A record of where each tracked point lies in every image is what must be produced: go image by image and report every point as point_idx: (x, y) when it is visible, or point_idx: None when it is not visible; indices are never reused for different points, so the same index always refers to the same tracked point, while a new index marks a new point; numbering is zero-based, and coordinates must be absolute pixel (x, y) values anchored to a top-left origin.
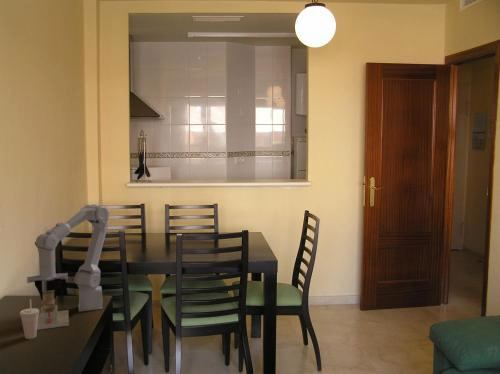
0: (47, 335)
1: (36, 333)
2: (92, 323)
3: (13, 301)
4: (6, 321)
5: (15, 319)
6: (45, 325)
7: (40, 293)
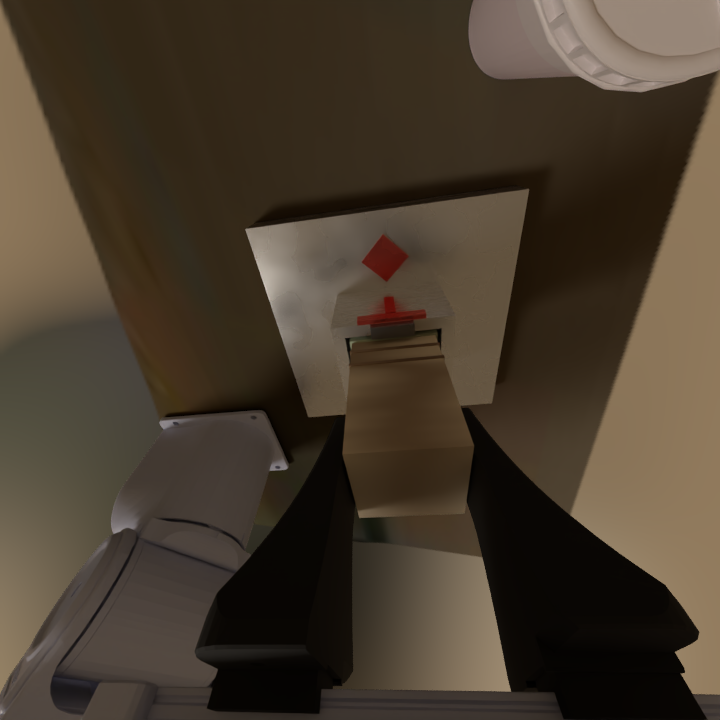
0: (373, 14)
1: (474, 6)
2: (103, 223)
3: None
4: (606, 380)
5: (559, 393)
6: (405, 205)
7: (502, 463)
